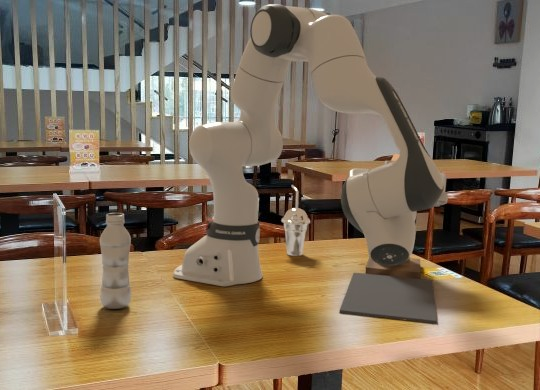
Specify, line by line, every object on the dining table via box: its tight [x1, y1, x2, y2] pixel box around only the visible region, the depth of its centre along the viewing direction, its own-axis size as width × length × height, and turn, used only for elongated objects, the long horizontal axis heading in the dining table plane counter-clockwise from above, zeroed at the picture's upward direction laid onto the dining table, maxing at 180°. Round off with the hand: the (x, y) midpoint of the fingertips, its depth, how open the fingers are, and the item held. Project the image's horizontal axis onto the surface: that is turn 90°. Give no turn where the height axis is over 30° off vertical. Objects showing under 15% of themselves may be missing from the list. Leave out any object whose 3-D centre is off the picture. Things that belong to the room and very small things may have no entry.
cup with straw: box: [281, 184, 311, 257], centre depth 173 cm, size 8×9×20 cm
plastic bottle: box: [99, 212, 133, 310], centre depth 123 cm, size 6×7×20 cm
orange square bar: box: [390, 153, 400, 162], centre depth 134 cm, size 3×20×3 cm, turn 166°
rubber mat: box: [338, 272, 437, 324], centre depth 138 cm, size 20×30×1 cm, turn 166°
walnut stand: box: [365, 255, 422, 279], centre depth 158 cm, size 14×14×26 cm
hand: (398, 163), depth 130 cm, fingers closed on orange square bar, 3 cm apart
